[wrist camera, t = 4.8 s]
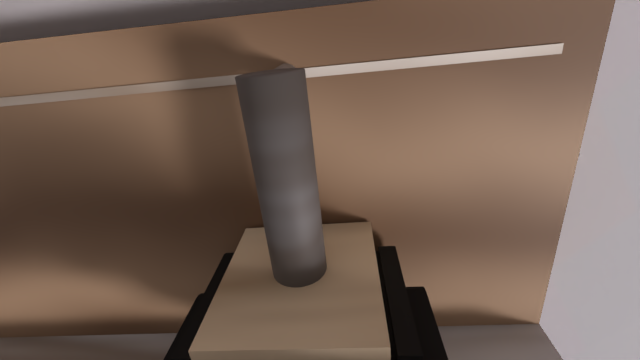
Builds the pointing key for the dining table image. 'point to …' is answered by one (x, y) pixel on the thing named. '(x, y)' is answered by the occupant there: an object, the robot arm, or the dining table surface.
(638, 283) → the dining table surface
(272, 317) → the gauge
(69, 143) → the board
